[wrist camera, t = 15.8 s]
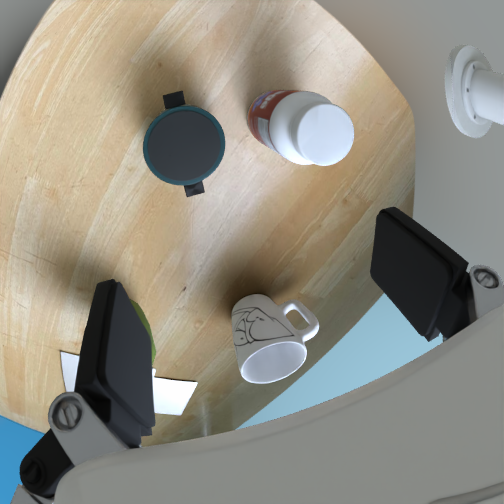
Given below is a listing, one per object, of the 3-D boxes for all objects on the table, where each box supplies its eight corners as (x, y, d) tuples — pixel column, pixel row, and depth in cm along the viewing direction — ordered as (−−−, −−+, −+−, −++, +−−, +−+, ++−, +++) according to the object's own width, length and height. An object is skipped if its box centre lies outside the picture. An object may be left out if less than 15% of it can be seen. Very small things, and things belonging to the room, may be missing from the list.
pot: (206, 86, 24) (215, 83, 19) (222, 169, 29) (234, 187, 24) (139, 103, 23) (130, 104, 18) (160, 185, 28) (158, 208, 23)
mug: (292, 268, 38) (325, 318, 30) (303, 307, 43) (332, 355, 35) (214, 302, 38) (230, 360, 30) (235, 337, 43) (252, 390, 34)
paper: (68, 400, 42) (68, 404, 41) (56, 349, 35) (55, 354, 34) (184, 413, 52) (185, 417, 51) (202, 369, 45) (203, 374, 44)
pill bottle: (294, 84, 26) (355, 86, 17) (306, 136, 29) (367, 162, 20) (237, 98, 25) (277, 102, 16) (254, 153, 29) (297, 186, 20)
